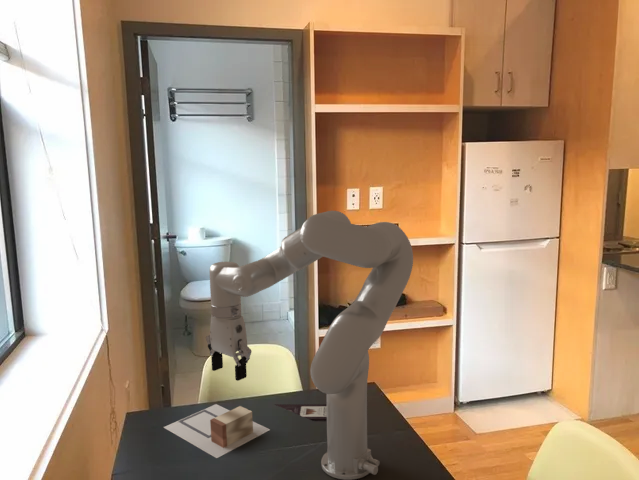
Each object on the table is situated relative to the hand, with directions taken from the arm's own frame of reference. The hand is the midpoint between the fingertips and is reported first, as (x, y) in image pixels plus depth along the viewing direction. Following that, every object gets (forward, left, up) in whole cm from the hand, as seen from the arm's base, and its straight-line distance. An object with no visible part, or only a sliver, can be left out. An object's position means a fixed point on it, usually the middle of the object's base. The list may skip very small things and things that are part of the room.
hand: (229, 373), depth 136 cm
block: (0, 0, -18) cm, 18 cm away
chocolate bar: (-4, -22, -19) cm, 29 cm away
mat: (+7, 0, -18) cm, 19 cm away
